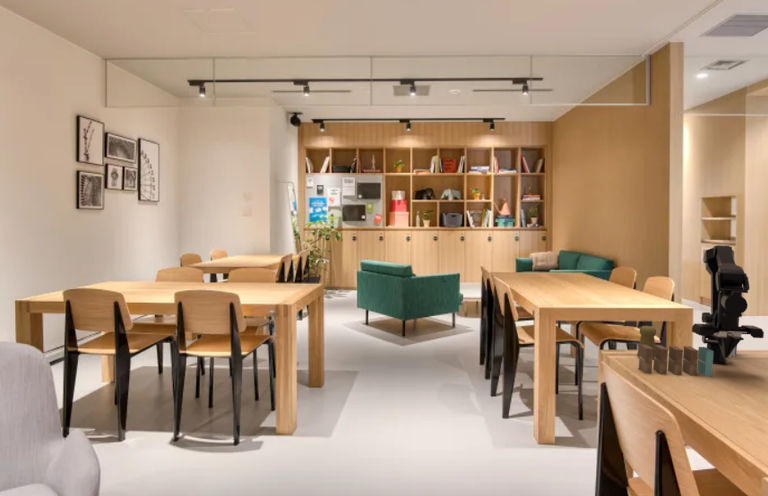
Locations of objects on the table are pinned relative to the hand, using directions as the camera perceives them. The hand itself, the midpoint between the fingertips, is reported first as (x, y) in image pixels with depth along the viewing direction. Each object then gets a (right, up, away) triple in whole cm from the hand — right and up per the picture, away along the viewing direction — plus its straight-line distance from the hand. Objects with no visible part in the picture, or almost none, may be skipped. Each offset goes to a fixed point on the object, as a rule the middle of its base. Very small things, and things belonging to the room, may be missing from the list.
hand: (725, 357), depth 165 cm
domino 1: (-24, -5, +3) cm, 25 cm away
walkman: (+17, -4, +23) cm, 28 cm away
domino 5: (-6, -5, +1) cm, 8 cm away
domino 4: (-11, -5, +1) cm, 12 cm away
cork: (-16, -4, +19) cm, 25 cm away
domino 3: (-15, -5, +2) cm, 16 cm away
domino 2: (-20, -5, +2) cm, 20 cm away
